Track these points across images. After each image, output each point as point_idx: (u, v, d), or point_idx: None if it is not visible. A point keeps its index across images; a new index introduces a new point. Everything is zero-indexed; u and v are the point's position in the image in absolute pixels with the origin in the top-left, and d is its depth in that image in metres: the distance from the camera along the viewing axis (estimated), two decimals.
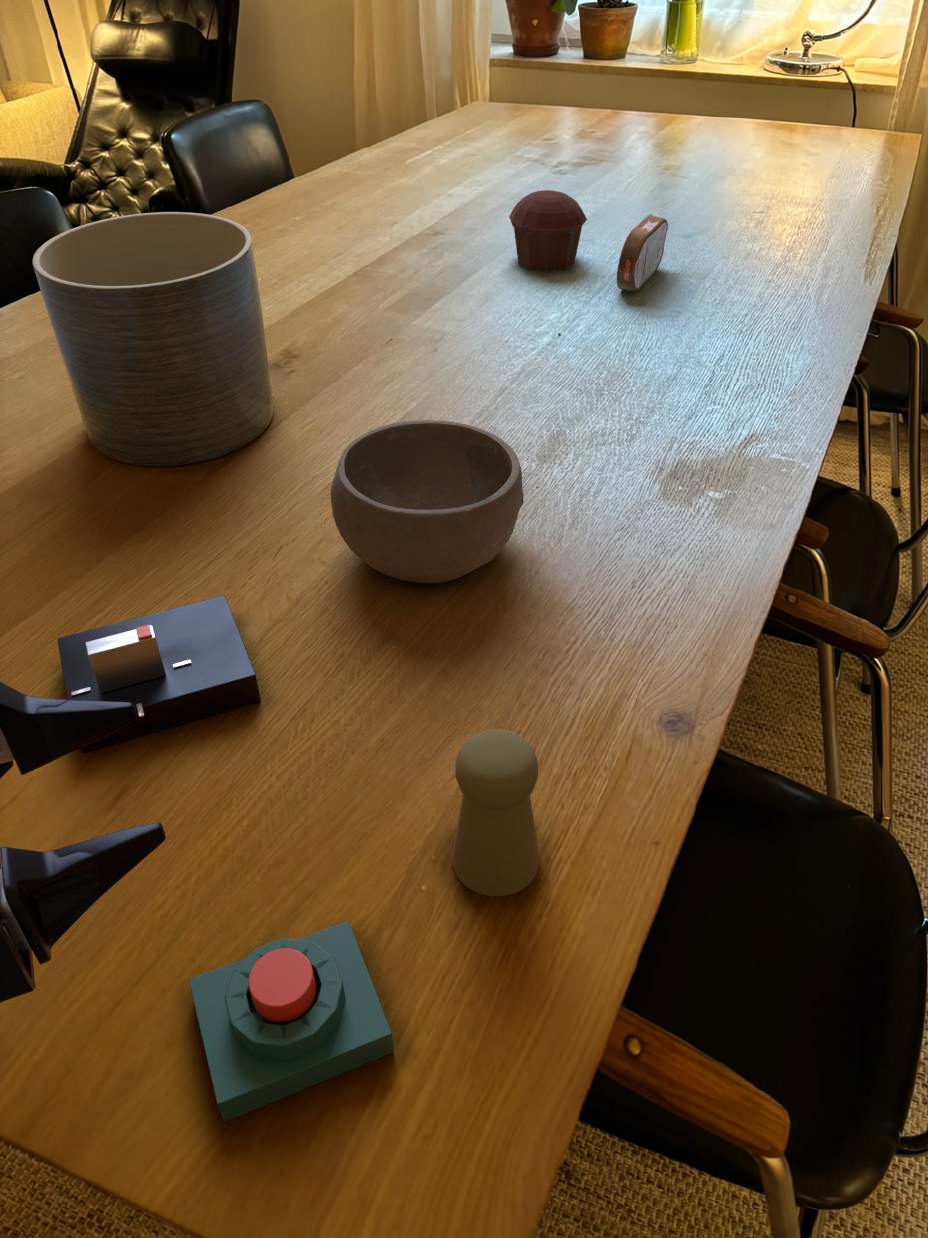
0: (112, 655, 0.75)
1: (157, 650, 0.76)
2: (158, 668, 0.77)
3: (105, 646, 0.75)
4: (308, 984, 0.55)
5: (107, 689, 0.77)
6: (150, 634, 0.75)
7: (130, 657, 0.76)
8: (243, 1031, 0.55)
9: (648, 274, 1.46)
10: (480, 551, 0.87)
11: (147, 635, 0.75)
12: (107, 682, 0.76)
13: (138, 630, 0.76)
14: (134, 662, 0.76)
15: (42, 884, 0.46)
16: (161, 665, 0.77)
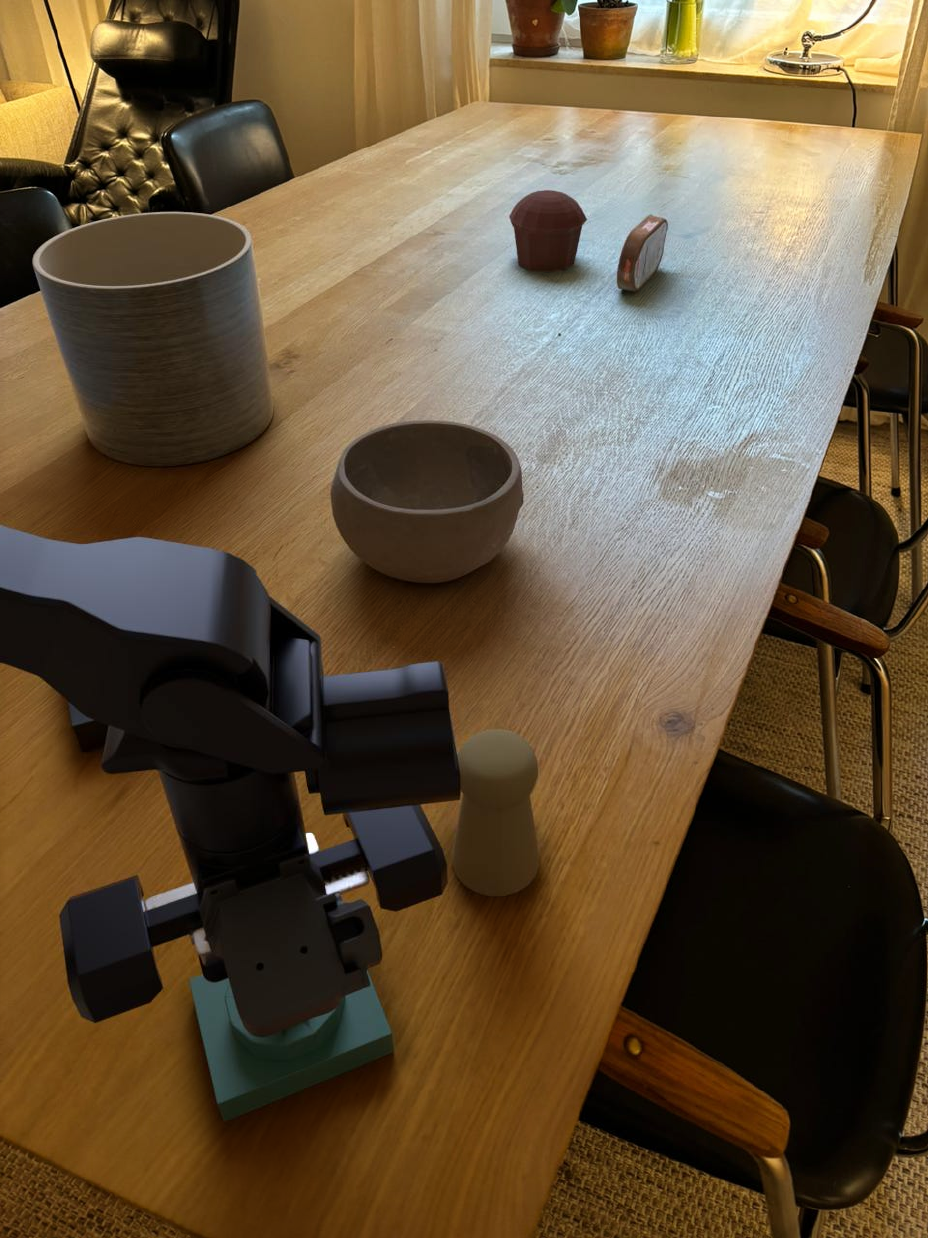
0: None
1: None
2: None
3: None
4: None
5: None
6: None
7: None
8: (243, 1031, 0.55)
9: (648, 274, 1.46)
10: (480, 551, 0.87)
11: None
12: None
13: None
14: None
15: None
16: None
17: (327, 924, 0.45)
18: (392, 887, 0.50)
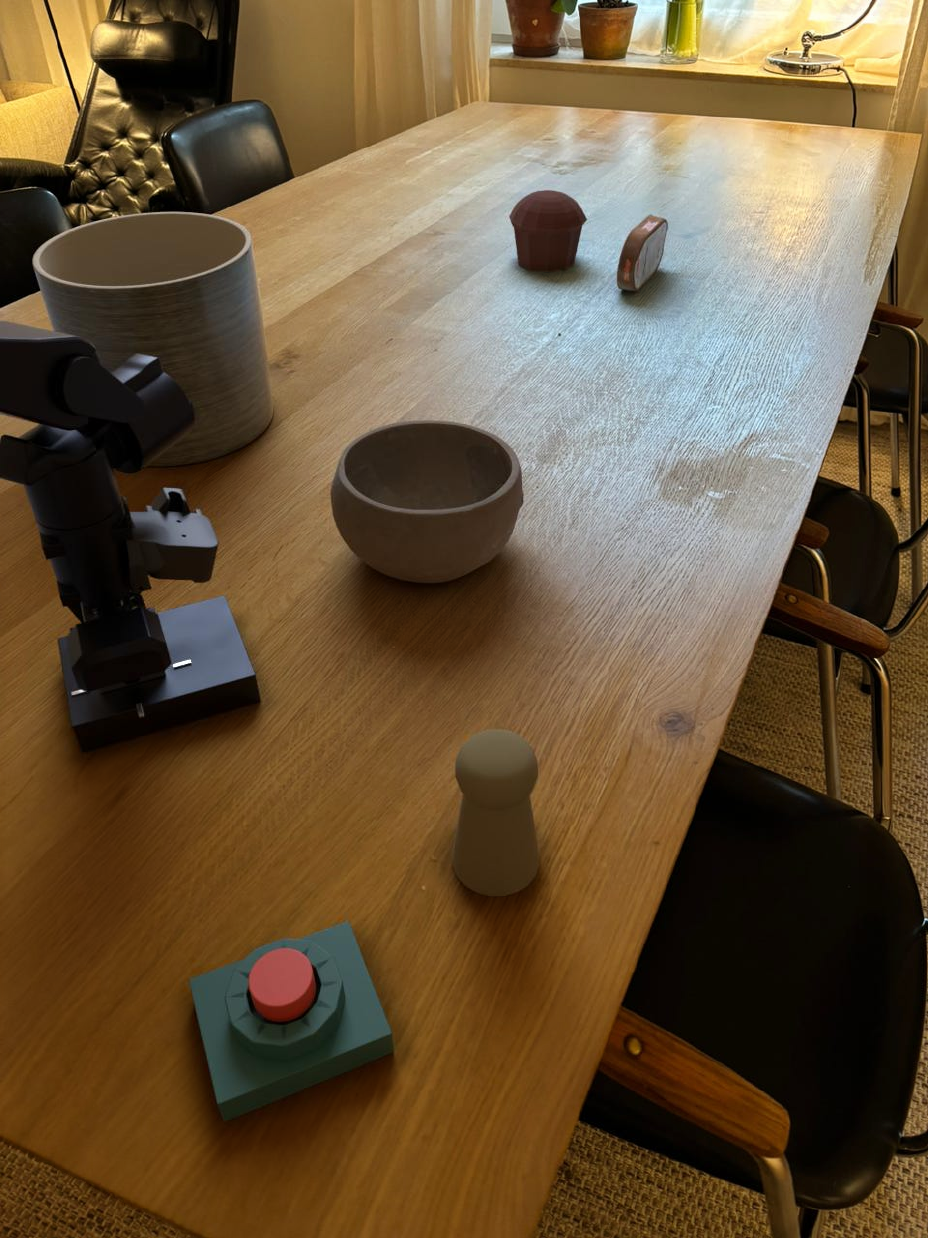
0: None
1: None
2: None
3: None
4: (308, 984, 0.55)
5: (107, 689, 0.77)
6: None
7: None
8: (243, 1031, 0.55)
9: (648, 274, 1.46)
10: (480, 551, 0.87)
11: None
12: None
13: None
14: None
15: None
16: None
17: (165, 511, 0.73)
18: None
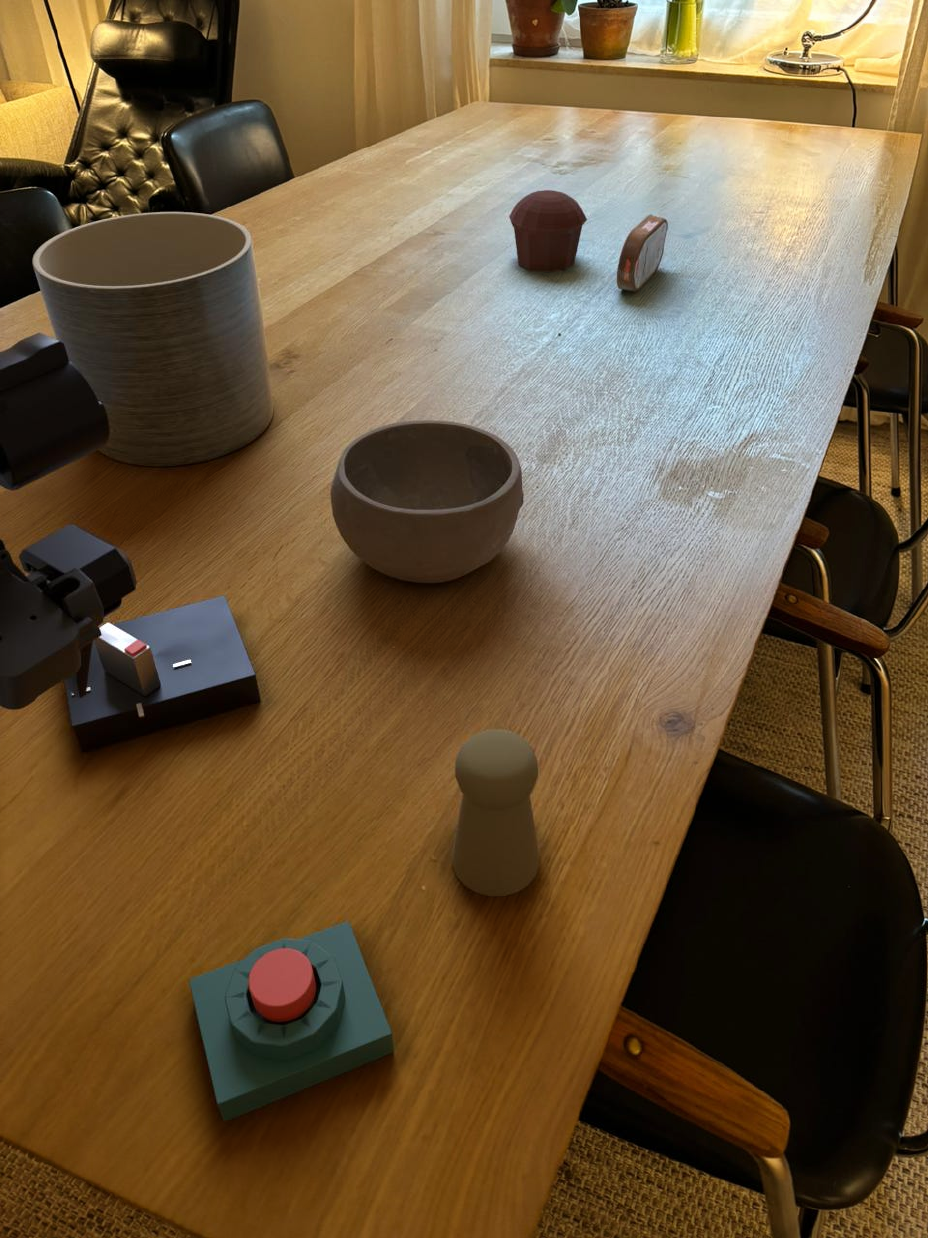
0: (106, 647, 0.76)
1: (136, 670, 0.75)
2: (139, 686, 0.76)
3: (107, 635, 0.76)
4: (308, 984, 0.55)
5: (107, 671, 0.78)
6: (132, 653, 0.74)
7: (118, 659, 0.75)
8: (243, 1031, 0.55)
9: (648, 274, 1.46)
10: (480, 551, 0.87)
11: (130, 651, 0.74)
12: (106, 666, 0.78)
13: (134, 643, 0.75)
14: (122, 666, 0.76)
15: None
16: (140, 685, 0.76)
17: (45, 596, 0.52)
18: None
